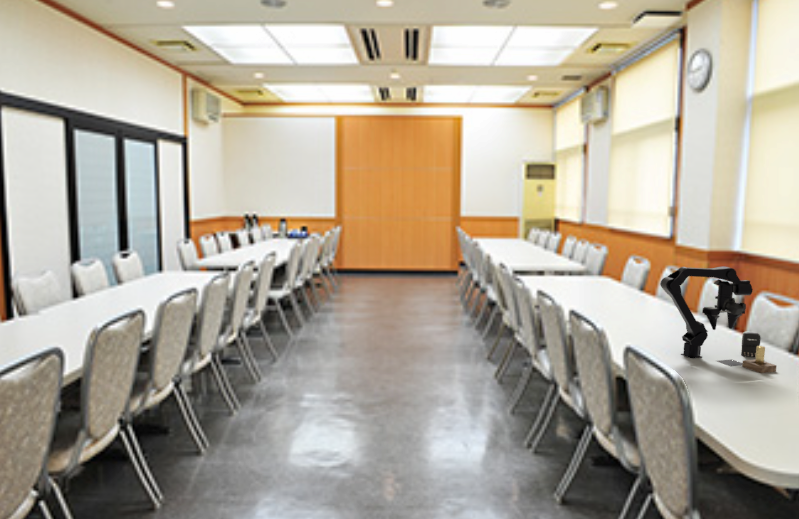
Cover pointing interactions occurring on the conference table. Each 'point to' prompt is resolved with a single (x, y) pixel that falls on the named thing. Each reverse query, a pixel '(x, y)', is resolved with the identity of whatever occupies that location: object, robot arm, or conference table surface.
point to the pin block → (759, 366)
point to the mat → (730, 362)
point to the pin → (760, 355)
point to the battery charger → (750, 344)
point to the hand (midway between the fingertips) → (722, 329)
